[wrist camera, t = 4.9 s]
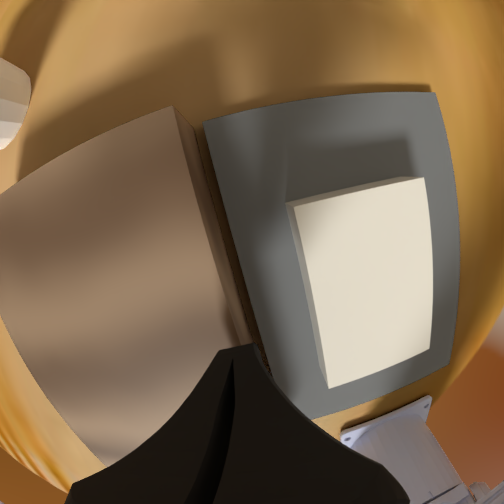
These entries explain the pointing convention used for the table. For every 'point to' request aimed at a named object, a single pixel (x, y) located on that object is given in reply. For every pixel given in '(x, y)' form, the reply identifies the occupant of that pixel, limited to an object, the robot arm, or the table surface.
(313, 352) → the mat
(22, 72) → the white cup
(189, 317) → the platform
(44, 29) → the table surface
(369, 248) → the tile
